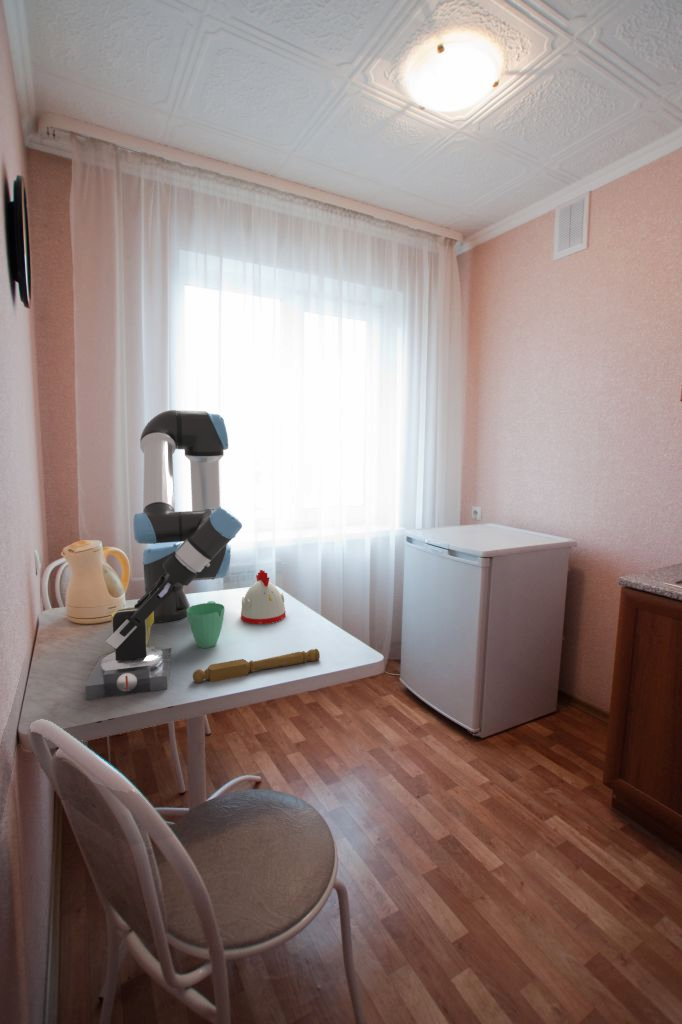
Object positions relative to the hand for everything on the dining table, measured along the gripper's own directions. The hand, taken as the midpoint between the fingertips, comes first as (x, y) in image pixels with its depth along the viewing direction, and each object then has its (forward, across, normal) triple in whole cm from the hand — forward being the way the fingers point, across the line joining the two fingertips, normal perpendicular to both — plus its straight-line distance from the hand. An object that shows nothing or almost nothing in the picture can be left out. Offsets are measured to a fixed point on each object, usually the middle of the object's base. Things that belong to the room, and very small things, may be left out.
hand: (114, 638), depth 108 cm
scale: (+4, -1, -9) cm, 10 cm away
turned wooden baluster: (-15, -6, -30) cm, 34 cm away
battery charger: (+1, 0, -6) cm, 6 cm away
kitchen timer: (-20, +33, -34) cm, 51 cm away
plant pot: (+6, +18, -8) cm, 21 cm away
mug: (-8, +17, -21) cm, 28 cm away
